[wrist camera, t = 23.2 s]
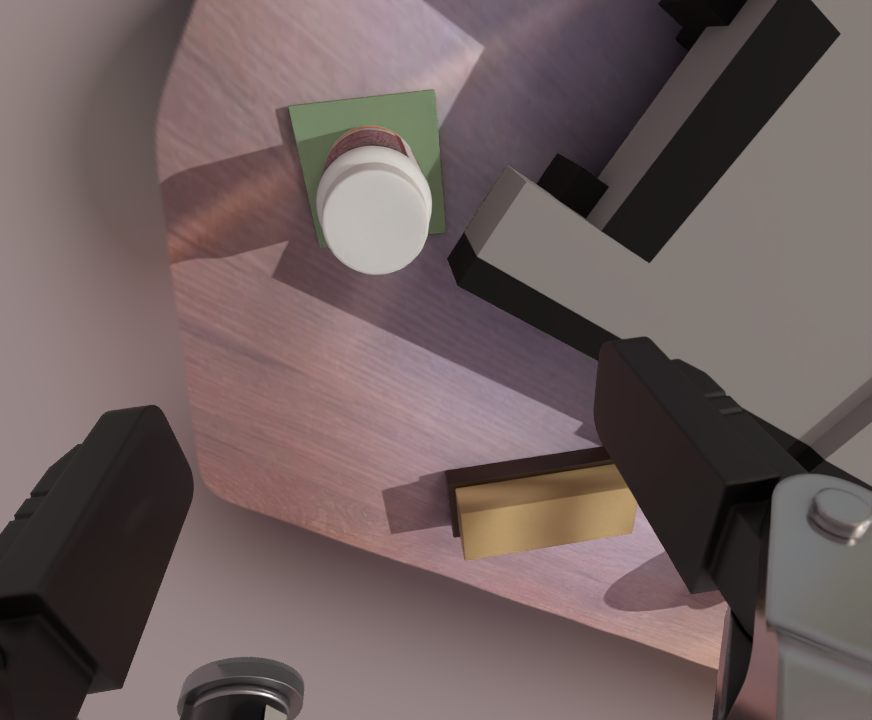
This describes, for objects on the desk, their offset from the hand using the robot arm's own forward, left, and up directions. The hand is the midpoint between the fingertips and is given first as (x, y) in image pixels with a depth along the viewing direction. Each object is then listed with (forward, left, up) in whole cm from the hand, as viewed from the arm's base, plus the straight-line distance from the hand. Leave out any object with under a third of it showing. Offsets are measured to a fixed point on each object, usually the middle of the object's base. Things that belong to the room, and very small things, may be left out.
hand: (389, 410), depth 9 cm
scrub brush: (+13, -25, -20) cm, 35 cm away
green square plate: (0, 0, -20) cm, 20 cm away
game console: (+22, -5, -20) cm, 30 cm away
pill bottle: (0, 0, -20) cm, 20 cm away
